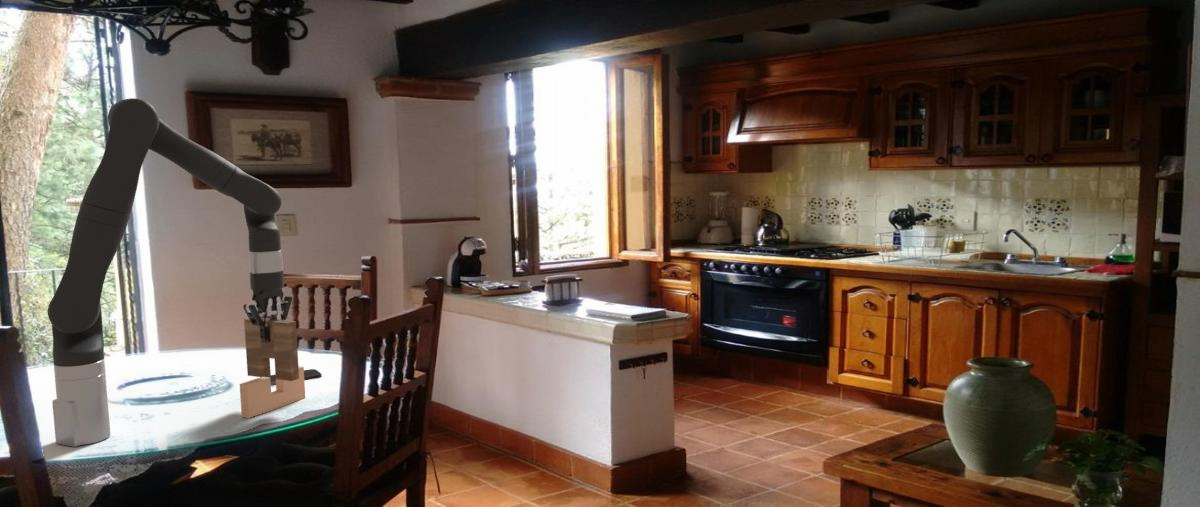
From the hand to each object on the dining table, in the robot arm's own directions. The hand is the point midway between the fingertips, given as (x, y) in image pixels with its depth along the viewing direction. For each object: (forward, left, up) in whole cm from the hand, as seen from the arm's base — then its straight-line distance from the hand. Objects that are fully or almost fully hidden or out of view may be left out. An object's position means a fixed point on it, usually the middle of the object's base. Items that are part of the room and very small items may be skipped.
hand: (270, 340), depth 198 cm
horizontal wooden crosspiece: (0, 0, -17) cm, 17 cm away
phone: (+22, +16, -17) cm, 32 cm away
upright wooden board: (0, 0, -9) cm, 9 cm away
